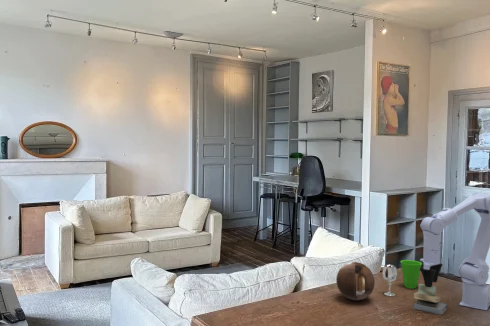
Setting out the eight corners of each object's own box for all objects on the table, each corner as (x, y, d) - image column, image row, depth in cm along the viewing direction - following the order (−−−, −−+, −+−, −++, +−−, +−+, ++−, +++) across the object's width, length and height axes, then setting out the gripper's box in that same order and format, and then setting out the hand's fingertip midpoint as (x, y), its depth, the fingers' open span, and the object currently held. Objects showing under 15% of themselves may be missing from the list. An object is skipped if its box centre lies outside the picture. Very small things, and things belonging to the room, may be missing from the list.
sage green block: (439, 301, 166) (440, 287, 167) (435, 302, 162) (436, 287, 162) (417, 297, 171) (418, 283, 172) (413, 298, 166) (414, 283, 167)
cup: (423, 290, 185) (424, 265, 185) (402, 289, 187) (402, 264, 187) (418, 284, 194) (419, 260, 194) (397, 283, 196) (398, 259, 195)
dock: (446, 308, 164) (447, 303, 164) (441, 314, 158) (442, 309, 157) (419, 303, 170) (419, 298, 170) (413, 308, 164) (413, 303, 164)
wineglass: (387, 297, 177) (388, 268, 176) (379, 292, 182) (380, 264, 182) (399, 296, 178) (400, 267, 178) (391, 291, 184) (391, 264, 183)
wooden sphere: (338, 291, 183) (339, 256, 183) (375, 295, 178) (375, 260, 178) (333, 303, 169) (334, 265, 169) (373, 307, 164) (374, 269, 164)
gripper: (425, 244, 171) (425, 278, 172) (415, 250, 160) (414, 286, 160) (444, 246, 167) (444, 281, 167) (435, 253, 156) (434, 290, 156)
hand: (431, 284), depth 164 cm, fingers open, 7 cm apart
